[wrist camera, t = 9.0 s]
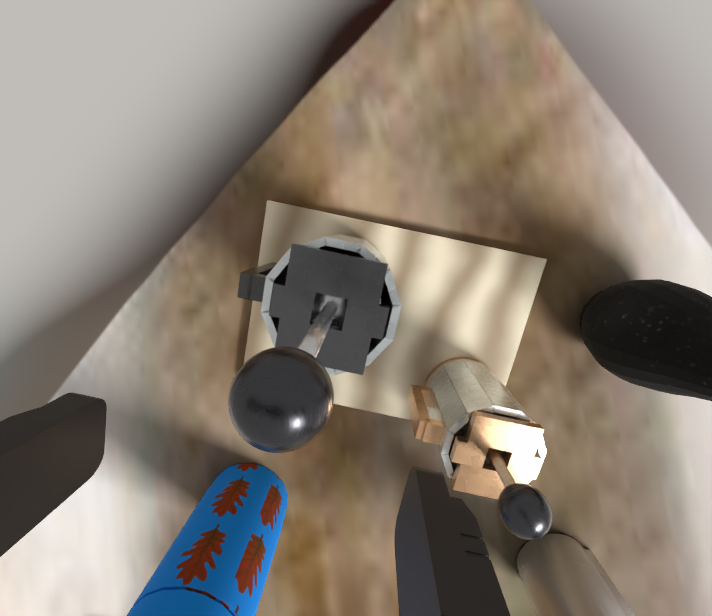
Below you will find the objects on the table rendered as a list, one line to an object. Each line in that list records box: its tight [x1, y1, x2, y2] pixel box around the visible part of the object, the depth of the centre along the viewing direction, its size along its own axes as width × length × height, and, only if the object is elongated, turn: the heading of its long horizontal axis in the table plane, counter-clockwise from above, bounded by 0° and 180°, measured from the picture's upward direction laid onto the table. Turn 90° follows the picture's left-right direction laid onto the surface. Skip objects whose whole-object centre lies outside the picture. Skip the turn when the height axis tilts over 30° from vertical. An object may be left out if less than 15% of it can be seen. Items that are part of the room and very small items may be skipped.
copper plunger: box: [453, 413, 552, 540], centre depth 30 cm, size 6×6×15 cm
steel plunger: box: [228, 293, 381, 453], centre depth 19 cm, size 8×8×17 cm
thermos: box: [127, 463, 287, 616], centre depth 37 cm, size 11×11×25 cm
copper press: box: [407, 357, 546, 499], centre depth 36 cm, size 11×9×13 cm
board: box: [244, 200, 547, 420], centre depth 42 cm, size 31×22×2 cm
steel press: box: [238, 234, 401, 375], centre depth 33 cm, size 13×10×15 cm
